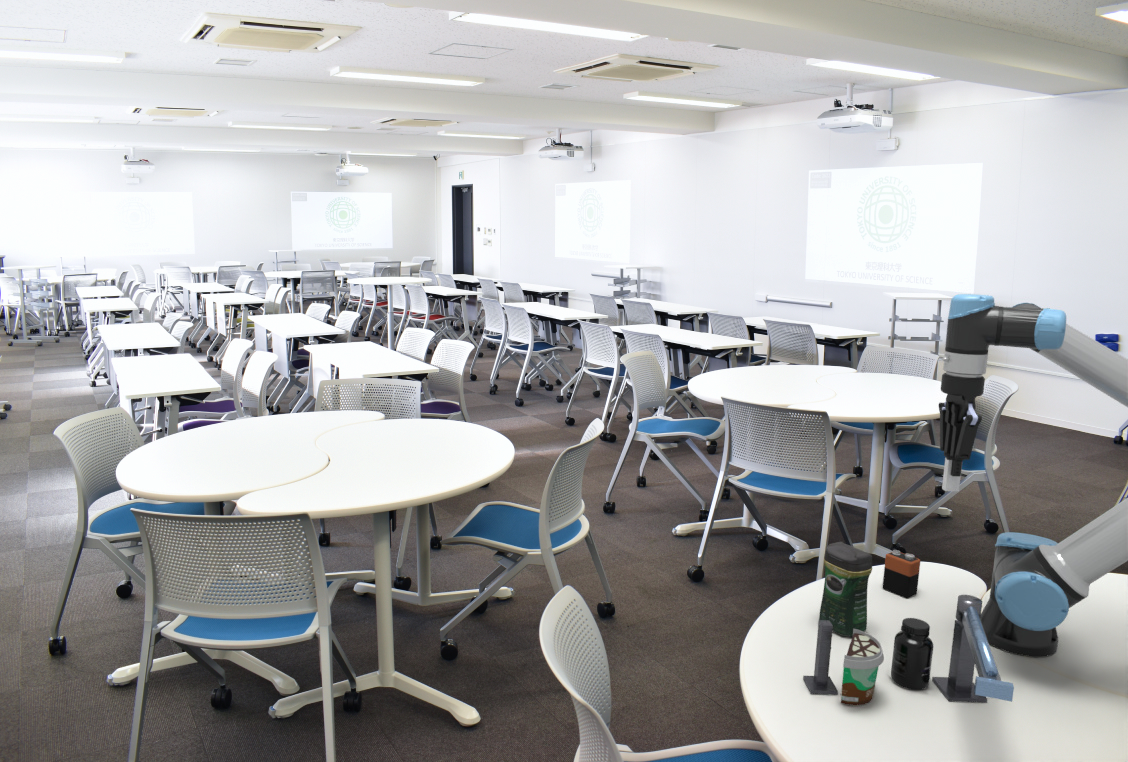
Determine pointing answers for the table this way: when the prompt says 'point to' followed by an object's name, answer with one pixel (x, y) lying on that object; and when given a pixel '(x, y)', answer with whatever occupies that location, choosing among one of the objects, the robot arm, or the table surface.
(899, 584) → the battery
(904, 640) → the supplement bottle
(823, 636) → the rest post
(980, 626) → the cable arm
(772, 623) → the table surface
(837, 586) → the coffee jar
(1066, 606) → the robot arm
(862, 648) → the food container
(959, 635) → the pivot post
